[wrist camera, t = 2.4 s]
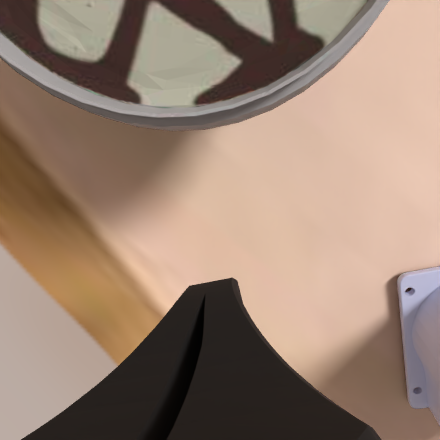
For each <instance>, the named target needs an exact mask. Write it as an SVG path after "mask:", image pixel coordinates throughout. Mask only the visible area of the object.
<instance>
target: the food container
mask: <svg viewBox="0 0 440 440" xmlns="http://www.w3.org/2000/svg"><path fill="white" fill-rule="evenodd" d="M389 1H390V0H0V58H1V59H2V60H3V61H5V62H6V63H7V64H8V65H9V66H10V67H12V68H13V69H14V70H15V71H16V72H17V73H19V74H20V75H22V76H23V77H25V78H27V79H28V80H30V81H31V82H33V83H34V84H36V85H37V86H39V87H41V88H42V89H44V90H45V91H47V92H48V93H50V94H51V95H53V96H55V97H57V98H60V99H62V100H64V101H66V102H68V103H70V104H73V105H75V106H77V107H79V108H81V109H84V110H86V111H88V112H91V113H93V114H96V115H99V116H101V117H104V118H108V119H111V120H115V121H118V122H122V123H125V124H129V125H132V126H136V127H142V128H150V129H159V130H167V131H183V130H205V129H210V128H215V127H220V126H224V125H229V124H234V123H239V122H241V121H244V120H247V119H249V118H252V117H255V116H257V115H260V114H262V113H265V112H268V111H270V110H272V109H274V108H276V107H278V106H279V105H281V104H283V103H285V102H286V101H288V100H290V99H292V98H293V97H295V96H297V95H299V94H300V93H302V92H304V91H305V90H306V89H308V88H309V87H310V86H311V85H313V84H314V83H315V82H316V81H318V80H319V79H320V78H321V77H323V76H324V75H325V74H326V73H328V72H329V71H330V70H332V69H333V68H334V67H335V66H336V65H337V64H338V63H339V62H340V61H341V60H342V59H343V58H344V56H345V55H346V54H347V53H348V52H349V51H350V50H351V49H352V48H353V47H354V46H355V45H356V44H357V43H358V42H359V41H360V40H361V39H362V37H363V36H364V35H365V33H366V32H367V31H368V29H369V28H370V27H371V25H372V24H373V23H374V21H375V20H376V18H377V17H378V16H379V14H380V13H381V12H382V10H383V9H384V7H385V6H386V5H387V3H388V2H389Z"/></svg>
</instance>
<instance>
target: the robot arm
mask: <svg viewBox="0 0 440 440" xmlns="http://www.w3.org/2000/svg"><path fill="white" fill-rule="evenodd" d="M397 286H398V297H399V308H400V319H401V330H402V341H403V352H404V363H405V374H406V386H407V397H408V402H409V404H410V406H411V407H412V408H415V409H421V408H428V407H429V408H430V410H431V412H432V414H433V415H434V417H435V419H436V421H437V422H438V424H439V426H440V266H439V267H433V268H428V269H422V270H417V271H411V272H406V273H403V274H401V275H400V276H399V278H398V280H397ZM409 287H412V289H411V290H410V291H408V292H405V290H406V289H407V288H409ZM417 387H418V388H417ZM415 388H417V389H415ZM21 440H381V438H380V437H379V436H378V434H377V433H376V432H375V430H374V429H373V428H372V427H370V426H369V425H367V424H365V423H364V422H362V421H361V420H359V419H357V418H356V417H354V416H353V415H351V414H350V413H348V412H347V411H345V410H344V409H342V408H341V407H339V406H338V405H336V404H335V403H334V402H332V401H331V400H330V399H328V398H327V397H326V396H324V395H323V394H322V393H320V392H319V391H318V390H316V389H315V388H314V387H313V386H312V385H311V384H310V383H308V382H307V381H306V380H305V379H304V378H303V377H301V376H300V375H299V374H298V373H297V372H296V371H295V370H293V369H292V368H291V367H290V366H289V365H288V364H287V363H286V362H285V361H284V360H283V359H282V357H281V356H280V355H279V354H278V353H277V352H276V351H275V350H274V349H273V347H272V346H271V345H270V344H269V343H268V341H267V340H266V339H265V338H264V336H263V335H262V334H261V332H260V331H259V329H258V328H257V327H256V325H255V324H254V322H253V321H252V319H251V317H250V316H249V314H248V312H247V310H246V308H245V307H244V305H243V302H242V298H241V294H240V290H239V286H238V282H237V280H235V279H234V278H228V279H223V280H218V281H212V282H207V283H202V284H197V285H192V286H189V287H188V288H187V289H186V290H185V292H184V293H183V294H182V295H181V296H180V298H179V299H178V300H177V301H176V303H175V304H174V305H173V307H172V308H171V309H170V310H169V311H168V313H167V314H166V315H165V316H164V318H163V319H162V320H161V321H160V322H159V324H158V325H157V326H156V327H155V328H154V329H153V330H152V332H151V333H150V334H149V335H148V336H147V337H146V338H145V339H144V340H143V341H142V342H141V344H140V345H139V346H138V347H137V348H136V349H135V350H134V351H133V352H132V353H131V354H130V355H129V356H128V357H127V358H126V359H125V360H124V361H123V362H122V363H121V364H120V365H119V366H118V367H117V368H116V369H115V370H113V371H112V372H111V373H110V374H109V375H108V376H107V377H106V378H104V379H103V380H102V381H101V382H100V383H99V384H97V385H96V386H95V387H94V388H92V389H91V390H90V391H89V392H87V393H86V394H85V395H84V396H82V397H81V398H80V399H78V400H77V401H76V402H74V403H73V404H72V405H71V406H69V407H68V408H67V409H65V410H64V411H63V412H61V413H60V414H59V415H57V416H56V417H54V418H53V419H52V420H50V421H49V422H47V423H46V424H44V425H43V426H41V427H40V428H38V429H37V430H35V431H34V432H32V433H31V434H29V435H27V436H26V437H24V438H23V439H21Z"/></svg>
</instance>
